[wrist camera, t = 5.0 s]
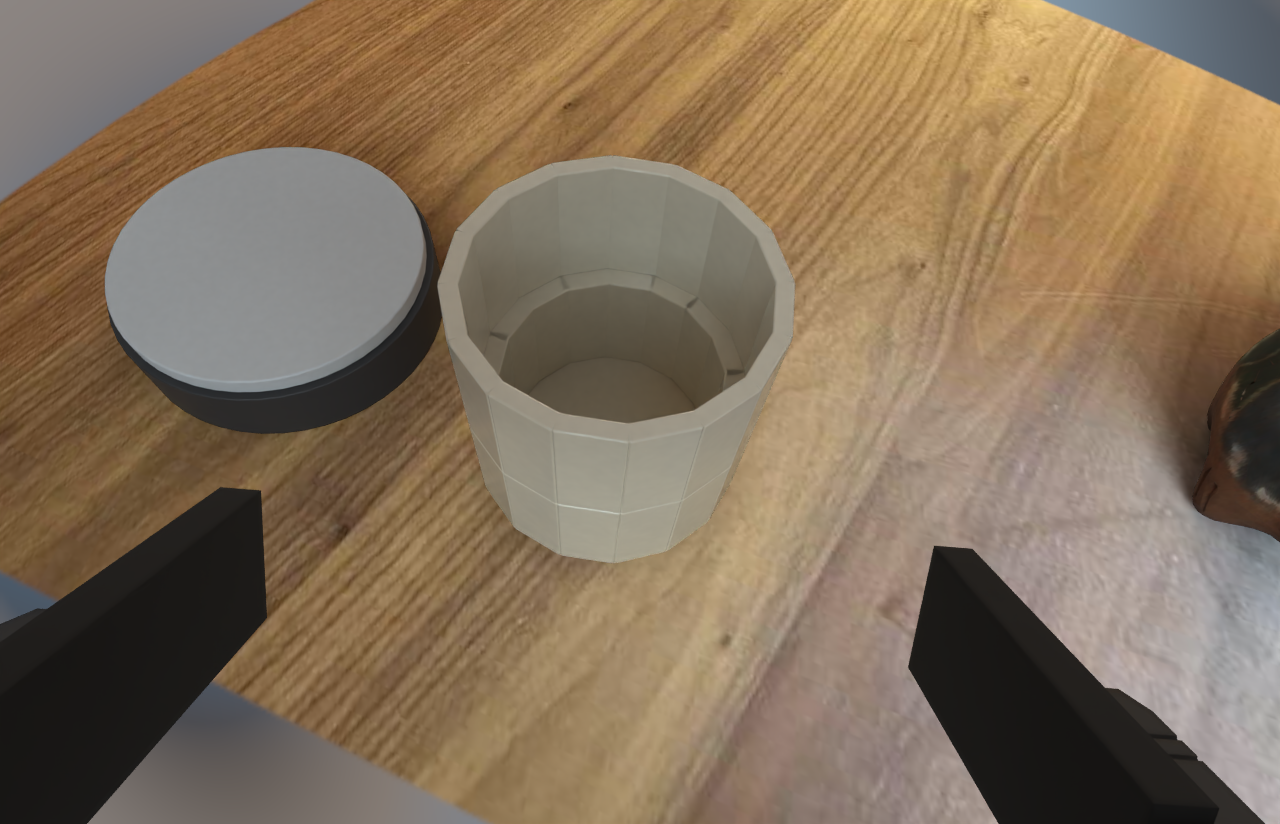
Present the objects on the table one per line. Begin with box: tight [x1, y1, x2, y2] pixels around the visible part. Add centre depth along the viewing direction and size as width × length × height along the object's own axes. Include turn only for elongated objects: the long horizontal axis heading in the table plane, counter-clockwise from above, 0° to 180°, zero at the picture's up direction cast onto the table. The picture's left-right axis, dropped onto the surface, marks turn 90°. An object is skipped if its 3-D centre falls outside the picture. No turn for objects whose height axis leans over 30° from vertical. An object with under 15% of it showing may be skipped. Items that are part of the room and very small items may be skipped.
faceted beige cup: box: [437, 155, 795, 563], centre depth 27 cm, size 10×10×11 cm
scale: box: [105, 147, 442, 434], centre depth 33 cm, size 13×13×4 cm
